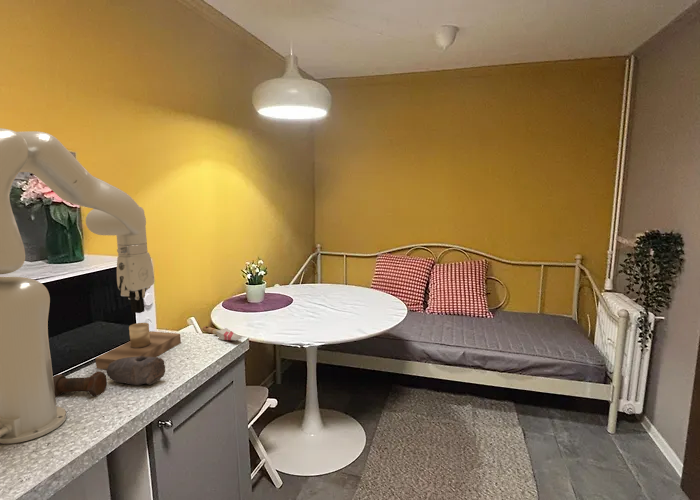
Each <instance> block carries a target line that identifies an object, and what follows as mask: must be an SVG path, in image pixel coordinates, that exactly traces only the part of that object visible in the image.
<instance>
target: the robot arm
mask: <svg viewBox="0 0 700 500" xmlns="http://www.w3.org/2000/svg"><path fill="white" fill-rule="evenodd" d="M19 173H30V174H32V175H34V176H35V177H36V178H37V179H39V180H40V181H41V182H42V183H43V184H44V185H45V186H46V187H48V188H49V189H50V190H51V191H53V193H55V195H57V196H58V198H60V199H61V200H63V201H65V202H67V203H69V204H74V205H77V206H80V207H84V208H88V209H91V210H90V211H89V212H88V213H87V214H86V217H85V225H86V228H87V229H88V231H90V233H92V234H94V235H99V236H116V244H117V249H116V252H117V260H116V284H117V289H118V290H119V291H120V296H121V297H126V298H128V300H130V311H131V313H134V314H141V313H143V312H145V310H146V309H145V299H144V298H146V292H147V291H148V290H149V289H150V288H151V286H153V285H154V284H155V273H154V272H155V271H154V267H153V261H152V258H151V254H150V252H148V241H147V228H146V224H147V219H146V215H145V210H144V208H143V207H142V206H140V205H139V204H138V203H137V202H136V201H135V199H133V197H132V196H131V195H129V194H128V193H127V192H125V191H123V190H122V189H120V188H118V187H117V186H114V185H112V184H110V183H108V182H106V181H105V180H102V179H100V178H98V177H96V176H94V175H93V174H91V173H90V172H89V171H88V169H86V168H85V167H84V166H83V165H82V163H81V162H80V161H78V158H76V157H75V156H74V155H73V153H71V152H70V150H68V148H67V147H65V146H64V145H63V143H62V142H61V141H60V140H59V139H58V138H57V137H56V136H54V135H52V134H50V133H48V132H44V131H37V130H36V131H34V130H32V131H31V130H30V131H15V130H12V129H8V128H2V127H0V275H8V274H11V273H15V272H16V271H18V270H19V269H21V268H22V267H23V265H24V264H25V261H26V250H25V245H24V242H23V239H22V236H21V234H20V230H19V227H18V223H17V222H16V218H15V214H14V213H13V209H12V205H11V201H10V195H11V194H10V192H11V188H12V185H13V182H14V180H15V179H16V177H17V175H18V174H19ZM50 303H51V297H50V293H49V290H48V288H47V287H46V286H45V285H44V284H43V283H41V282H40V281H39V280H36V279H33V278H29V277H22V276H0V444H4V445H5V444H19V443H22V442H28V441H31V440H34V439H37V438H40V437H43V436H45V435H47V434H49V433H51V432H53V431H54V430H56V429H58V428H59V427H60V426H61V425H63V423H64V422H65V421H66V420H67V411H66V409H65V408H63V407H61V406H57V401H56V396H55V389H54V381H53V376H54V375H53V374H54V373H53V367H52V366H53V365H52V358H51V357H52V356H51V350H50V342H49V341H50V340H49V329H48V328H49V326H48V324H49V323H48V321H49V315H50V314H49V313H50Z"/></svg>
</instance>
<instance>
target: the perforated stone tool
mask: <svg viewBox="0 0 700 500" xmlns="http://www.w3.org/2000/svg"><path fill="white" fill-rule="evenodd" d="M165 373H166V365H165V360H164V359H163V358H161V357H159V356H157V357H145V356H138V357H127V358H122V359H118V360H115V361H113V362H111V363H110V364H109V365H108V368H107V370H106V376H107V377H108V379H109V378H110V379H111V381H113V382H116V383H118V384H123V383H124V384H126V385H134V386H141V385H143V384H144V385H145V384H147V385H148V386H149V385H153V384H154V383H156V382H159V381H160V380H161V379H162V378H163V377H164V375H165Z"/></svg>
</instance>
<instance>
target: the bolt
mask: <svg viewBox="0 0 700 500" xmlns="http://www.w3.org/2000/svg"><path fill="white" fill-rule="evenodd" d="M53 381H54V389H55V397H58V396H61V395H62V394H64V393H75V392H76V393H77V392H82V393H83V392H86V393H89V395H90V396H91V397H98V396H100V395H102V394H103V393H104V392H105V390H106V389H107V384H108V381H107V374H105V373H104V371H96V372H94V373H93V374H91V375H90V376H88V377H66V376H65V375H63V374H56V375H53Z"/></svg>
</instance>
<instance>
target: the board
mask: <svg viewBox="0 0 700 500" xmlns="http://www.w3.org/2000/svg"><path fill="white" fill-rule="evenodd" d="M149 334H150V345H149V346H147V347H144V348H131V344H130V340H129V341H127V342H125V343H124V344H121V345H119V346H117V347H115V348H112V349H111V350H109V351H107V352H104V353H102V354H100V355H99V356H96V357H95V367H96V369H97V370H98V369H99V370H106V371H107V368H108V365H109V364H110V363H111V362H113V361H115V360H118V359H122V358H127V357H138V356H145V357H159V356H161V355H162V354H164V353H166V352H167V351H169V350H171V349H173V348H174V347H176V346H178V345H179V344H181V343H182V341H181V338H182V337H181V333H178V332H177V333H176V332H162V331H153V330H152V331H150V330H149Z"/></svg>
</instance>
